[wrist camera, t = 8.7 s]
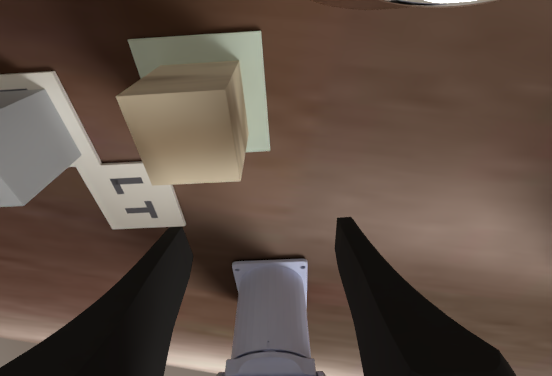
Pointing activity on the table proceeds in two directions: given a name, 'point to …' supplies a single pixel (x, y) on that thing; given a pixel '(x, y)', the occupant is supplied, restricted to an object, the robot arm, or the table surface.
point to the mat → (216, 50)
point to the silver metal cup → (400, 3)
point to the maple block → (189, 122)
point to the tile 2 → (132, 196)
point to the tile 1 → (62, 105)
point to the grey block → (31, 145)
